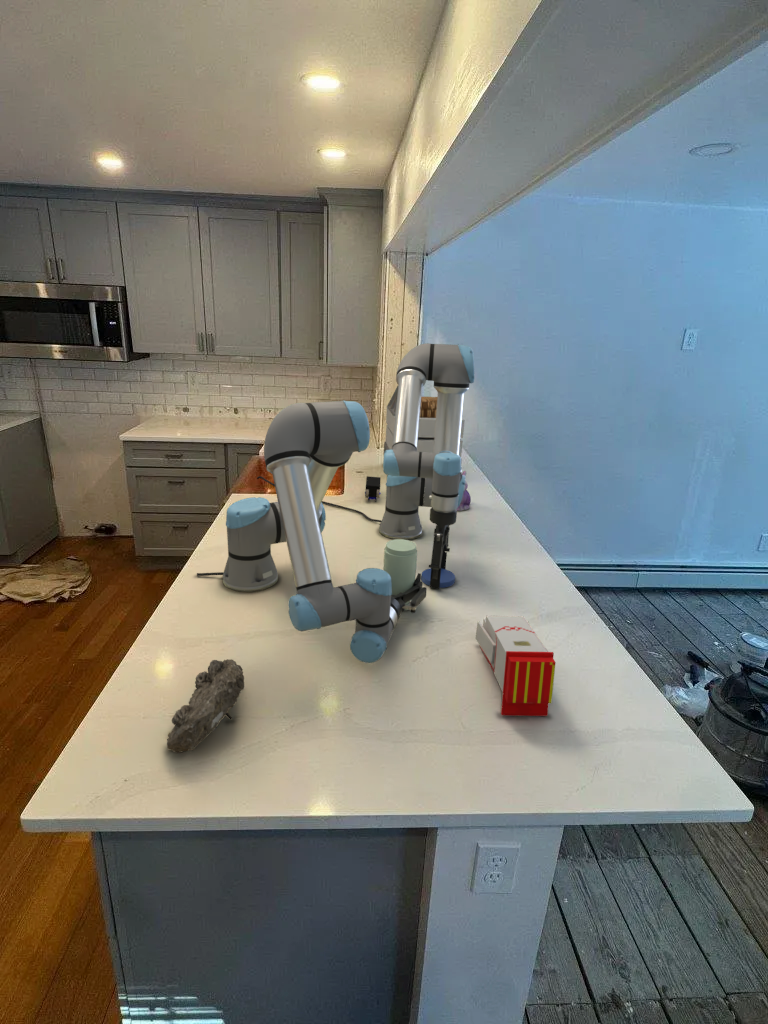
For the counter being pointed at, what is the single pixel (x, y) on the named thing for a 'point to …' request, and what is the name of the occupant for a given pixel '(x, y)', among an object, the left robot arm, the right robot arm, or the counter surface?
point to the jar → (400, 564)
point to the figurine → (464, 497)
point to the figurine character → (372, 488)
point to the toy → (518, 664)
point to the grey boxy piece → (425, 424)
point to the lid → (445, 579)
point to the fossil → (206, 705)
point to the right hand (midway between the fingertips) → (437, 579)
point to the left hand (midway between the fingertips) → (402, 575)
